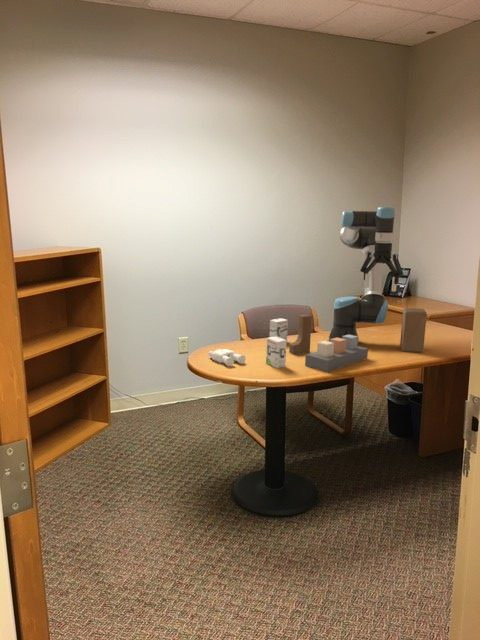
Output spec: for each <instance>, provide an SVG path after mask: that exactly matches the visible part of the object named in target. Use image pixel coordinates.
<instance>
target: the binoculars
mask: <svg viewBox="0 0 480 640" xmlns="http://www.w3.org/2000/svg"><path fill="white" fill-rule="evenodd" d="M208 356H209V357H210V358H211V359H212V360H213V361H215V362H217V363H220V364H225V365H226V366H227V367H232V366H233V365H234V363H235V362H237V363H238V364H241V365H243V364H244V363H245V362H246V356H245V355H244V354H238V353H237V352H236V351H233V350H231V349H227V348H218V349H216V350H213V351H212V350H211V351H208Z"/></svg>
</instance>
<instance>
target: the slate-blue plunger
mask: <svg viewBox="0 0 480 640" xmlns="http://www.w3.org/2000/svg"><path fill="white" fill-rule="evenodd" d="M358 338H359V335H358V336H354V335H345V336H342V339H346V349H347V350H354V349H357V346H358V344H359V341H358ZM357 343H358V344H357Z"/></svg>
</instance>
